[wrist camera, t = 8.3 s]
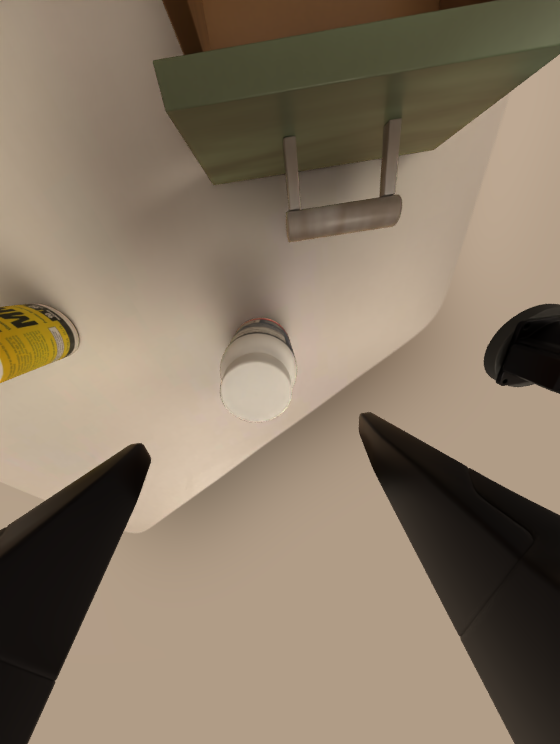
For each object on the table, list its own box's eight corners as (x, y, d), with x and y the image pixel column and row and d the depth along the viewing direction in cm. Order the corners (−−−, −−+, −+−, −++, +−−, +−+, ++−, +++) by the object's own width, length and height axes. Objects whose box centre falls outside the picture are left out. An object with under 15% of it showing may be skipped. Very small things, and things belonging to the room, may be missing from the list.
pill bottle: (281, 375, 21) (288, 439, 13) (229, 364, 20) (202, 424, 12) (296, 324, 19) (316, 363, 11) (239, 309, 18) (213, 339, 10)
